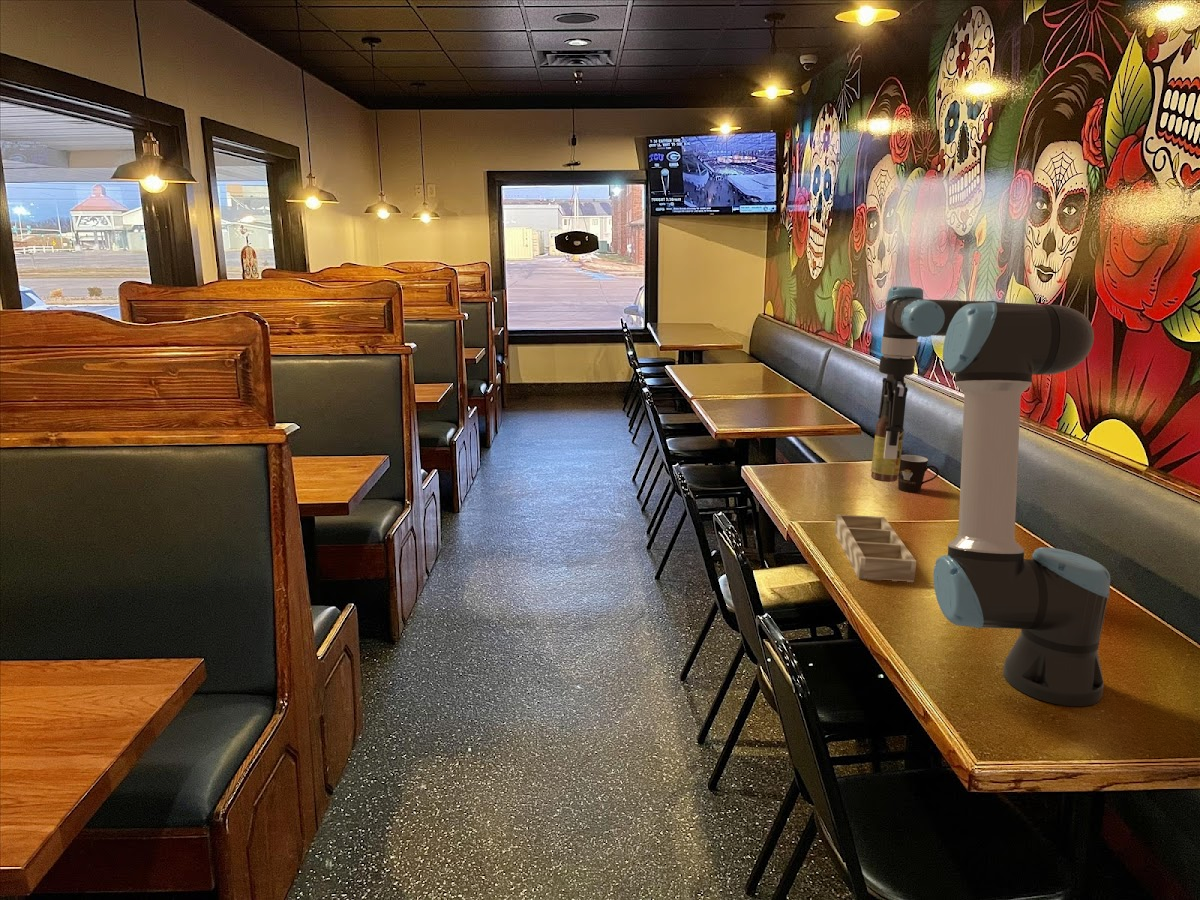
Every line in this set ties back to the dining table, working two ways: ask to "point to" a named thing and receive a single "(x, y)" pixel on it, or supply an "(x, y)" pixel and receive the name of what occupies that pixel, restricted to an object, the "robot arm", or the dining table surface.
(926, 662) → the dining table surface
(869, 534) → the condiment rack
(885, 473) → the sauce bottle
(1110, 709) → the dining table surface
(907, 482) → the coffee mug
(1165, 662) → the dining table surface
